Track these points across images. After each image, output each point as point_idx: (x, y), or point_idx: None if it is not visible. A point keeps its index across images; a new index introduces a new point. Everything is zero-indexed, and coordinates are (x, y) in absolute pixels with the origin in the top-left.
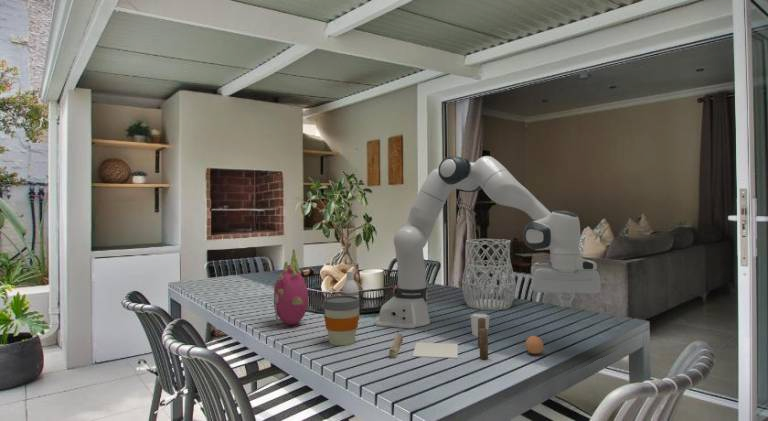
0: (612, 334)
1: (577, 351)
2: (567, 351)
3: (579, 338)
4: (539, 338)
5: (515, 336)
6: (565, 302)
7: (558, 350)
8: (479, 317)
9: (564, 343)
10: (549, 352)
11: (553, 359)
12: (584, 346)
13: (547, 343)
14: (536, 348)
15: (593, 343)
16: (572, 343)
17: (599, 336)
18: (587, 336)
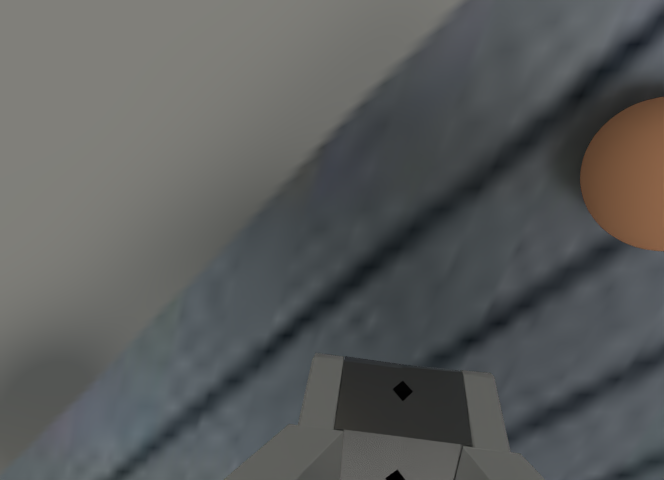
0: (43, 462)
1: (296, 203)
2: (364, 203)
3: (223, 420)
4: (650, 183)
5: (596, 469)
6: (416, 425)
7: (420, 222)
8: None
9: (335, 348)
10: (502, 180)
11: (540, 13)
12: (227, 295)
13: (443, 351)
14: None
15: (163, 342)
16: (286, 346)
17: (111, 441)
18: (173, 444)
